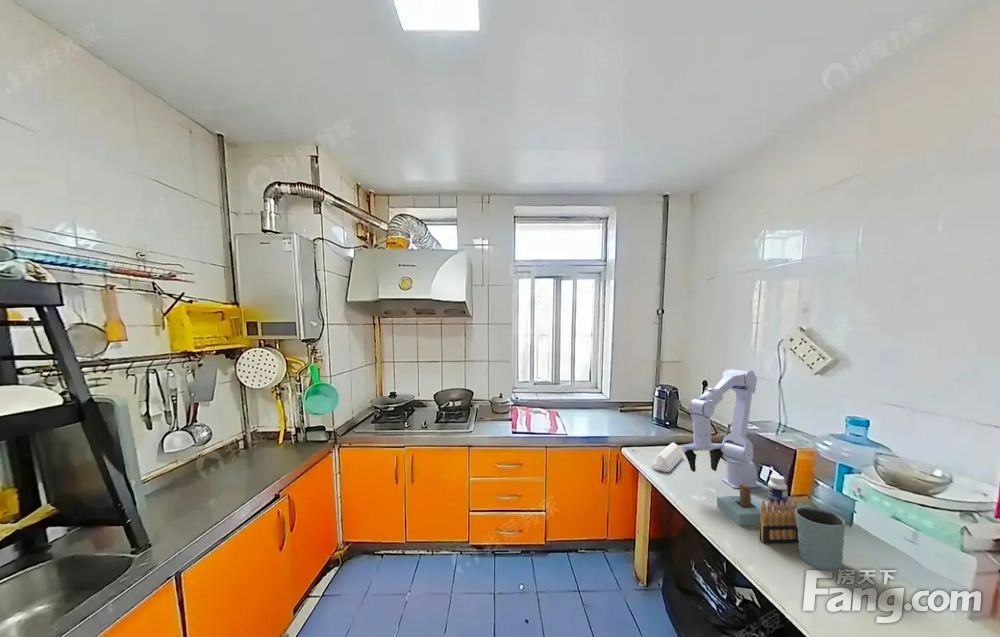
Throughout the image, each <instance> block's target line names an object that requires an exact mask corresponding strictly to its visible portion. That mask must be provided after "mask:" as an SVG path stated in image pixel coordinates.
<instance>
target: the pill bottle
mask: <svg viewBox="0 0 1000 637" xmlns="http://www.w3.org/2000/svg"><path fill="white" fill-rule="evenodd" d="M767 494H768V501H769V500H770V501H771V504H772V507H773V506H774V501H775V500H776V501H777V504H778V509H780V502H781V500H782V501H783V503H784V507H785V509H786V502H787V500H789V496H788V485H787V484H786V483H785V477H784V476H782V475H780V474H777V473H776V474H774V473H773V474H770V476H769V480H768V482H767ZM768 501H767V502H768Z"/></svg>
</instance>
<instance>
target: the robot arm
mask: <svg viewBox="0 0 1000 637" xmlns="http://www.w3.org/2000/svg"><path fill="white" fill-rule="evenodd" d="M757 381H758V380H757V376H756V374H755V372H754V371H753V370H744V369H743V370H742V369H735V368H726V369H725V370H724V371H723V372H722V376H721V379H720V380H719V381H718V383H717V384H716V385H715V386H714V387H708V388H707V390H705V392H703V393H702V394H701V395H700V396H699V397H698V398H694V399H692V400H691V401H690V402H689V405H688V407H687V408H688V412H689V413H690V418H691V420H692V433H693V436H692V437H693V442H690V443H687V444H681V452H682V453H683V454H684V456H685V457H686V459H687V462H688V465H689V467H690V468H689V469H690V470H691V471H692V472H693V473H695V472H696V470H697V469H696V467H697V466H696V461H697V460H696V458H697V453H695V452H697V451H700V452H701V451H708V452H709V457H710V467H711V468H710V469H711V470H713V471H714V472H716V471H717V470H718V467H719V466H718V465H719V462H720V460H721V458H722V457H723V459H724V460H725V466H726V478H721V480H722V481H723V482H724V483H726V484H727V485H729V486H730V487H732V488H733V489H740V484H746V485H749V486H750V489H751V488H759V485H758V481H757V480H758V479H757V477H758V476H757V467H756V464H755V463H754V462H753V459H754V444H753V443H752V442H751V441H750V440H749V438H747V433H748V426H749V420H750V419H749V418H750V411H751V404H752V398H753V397H752V396H753V394H755V393H756V389H757ZM729 390H732V391H734V393H735V394H736V396H735V402H734V409H733V416H732V420H731V428H730V433H729V434H726V435H725V436H723V439H722V442H721V443H720V442H718V443H716V442H712V427H711V425H712V423H711V417H712V416H713V414H714V413H715V409H716V407H717V405H719V403H721V402H722V401H723V398H724V396H723V395H724V394H725V393H726V392H728V391H729Z"/></svg>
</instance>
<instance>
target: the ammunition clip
mask: <svg viewBox="0 0 1000 637" xmlns="http://www.w3.org/2000/svg"><path fill="white" fill-rule="evenodd" d="M761 502H762V504H761V523H760V525H759V541H760V542H761V543H762V544H764V545H789V544H793V545H795V544H798V545H799V540H798V528H797V523H796V516H795V509H796V508H798V504H797V501H796V499H793V501H792V504H791V503H790V500H789V499H788V500H787V502H786V508H785V507H784V503H783V501H782V500H781V502H780V508H778V504H777V501H776V500H775V501H774V506H772V504H771V501H770V500H769V501H767V505H766V503H765V500H762V501H761ZM766 506H767V512H766ZM772 510H773V511H772Z"/></svg>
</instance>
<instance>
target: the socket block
mask: <svg viewBox="0 0 1000 637" xmlns="http://www.w3.org/2000/svg"><path fill="white" fill-rule="evenodd" d="M761 504H762V501H761V500H760V499H758V498H756V497H754V496H753V495H752V494H751V508H743V507H741V506H740V495H728V496H726V495H725V496H716V507H717V508H718V509H719V510H721V512H723V513H724V514H725V515H726V516H727V517H728V518H730V519H731V520H732V521H733V522H734V523H736V524H737V525H738V526H740V527H741V526H744V527H745V526H747V527H748V526H760V523H761ZM772 511H773V509H772ZM766 512H767V505H766Z"/></svg>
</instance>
